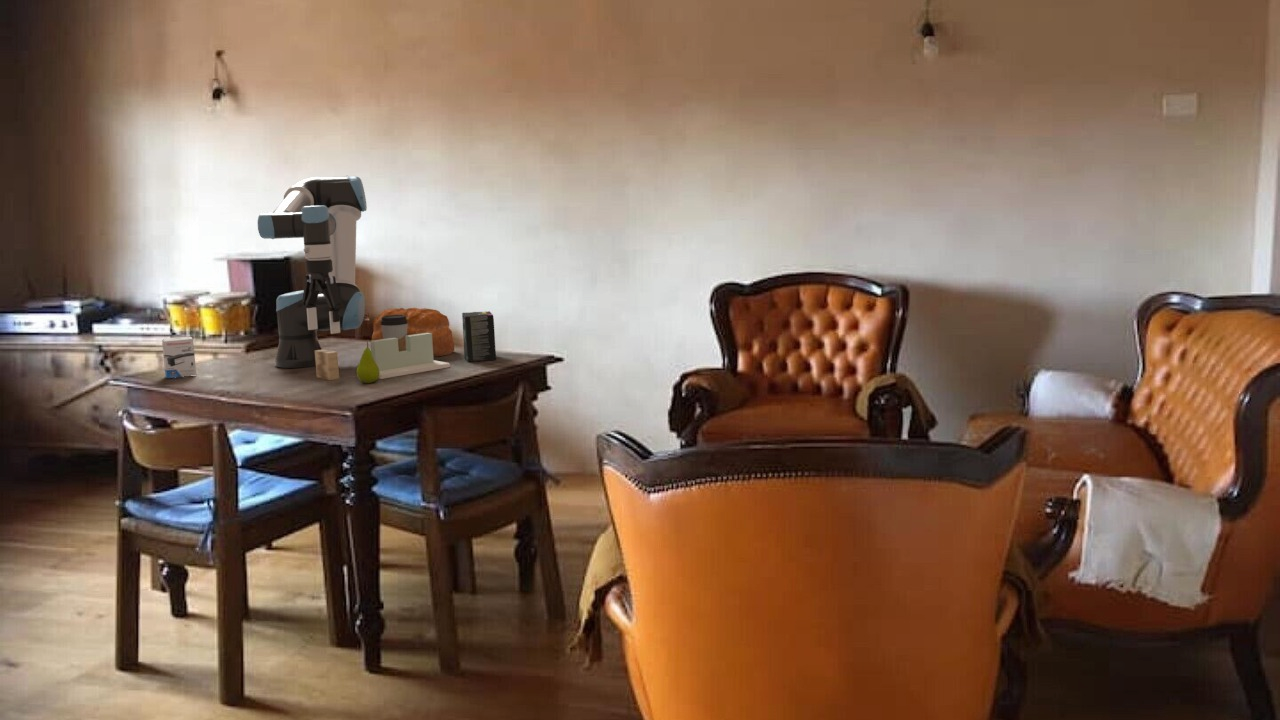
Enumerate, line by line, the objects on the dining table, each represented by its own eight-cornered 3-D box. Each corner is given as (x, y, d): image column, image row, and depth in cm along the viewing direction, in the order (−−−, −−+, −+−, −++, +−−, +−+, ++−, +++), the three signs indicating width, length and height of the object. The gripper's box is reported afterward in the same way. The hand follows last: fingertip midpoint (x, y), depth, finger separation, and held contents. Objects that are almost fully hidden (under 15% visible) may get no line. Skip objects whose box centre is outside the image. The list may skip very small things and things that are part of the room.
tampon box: (496, 360, 348) (494, 314, 345) (467, 362, 346) (464, 316, 343) (492, 355, 358) (490, 310, 356) (464, 357, 356) (461, 312, 353)
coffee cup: (404, 366, 342) (400, 318, 339) (379, 365, 344) (375, 318, 341) (414, 361, 350) (411, 314, 347) (390, 361, 352) (386, 314, 349)
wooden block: (316, 377, 328) (314, 350, 327) (326, 375, 330) (323, 349, 329) (329, 380, 322) (327, 353, 321) (339, 378, 325) (337, 351, 323)
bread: (391, 349, 377) (387, 304, 374) (459, 351, 368) (456, 305, 365) (367, 356, 364) (364, 309, 361) (437, 358, 355) (435, 311, 352)
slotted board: (356, 373, 332) (354, 340, 330) (424, 362, 348) (422, 330, 346) (381, 378, 322) (378, 344, 320) (449, 367, 338) (447, 334, 336)
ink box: (166, 379, 331) (162, 340, 329) (165, 377, 335) (161, 338, 333) (197, 376, 335) (193, 338, 333) (195, 373, 339) (191, 336, 337)
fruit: (359, 385, 313) (356, 343, 311) (356, 381, 318) (352, 341, 316) (382, 383, 315) (379, 341, 313) (378, 379, 321) (375, 339, 319)
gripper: (286, 258, 327) (292, 329, 330) (327, 261, 309) (333, 336, 312) (309, 256, 332) (315, 326, 335) (351, 259, 314) (357, 333, 317)
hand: (324, 331), depth 324 cm, fingers open, 13 cm apart
